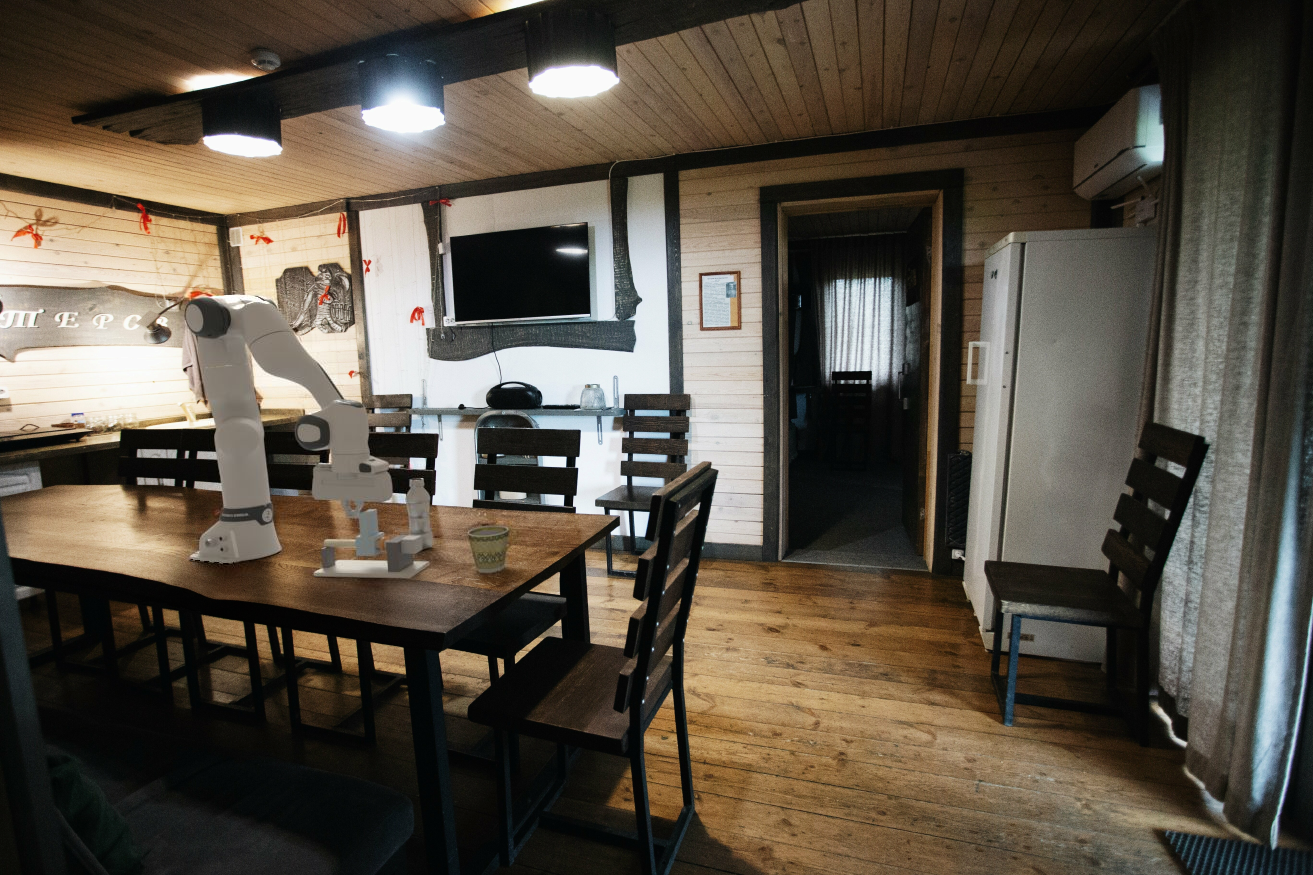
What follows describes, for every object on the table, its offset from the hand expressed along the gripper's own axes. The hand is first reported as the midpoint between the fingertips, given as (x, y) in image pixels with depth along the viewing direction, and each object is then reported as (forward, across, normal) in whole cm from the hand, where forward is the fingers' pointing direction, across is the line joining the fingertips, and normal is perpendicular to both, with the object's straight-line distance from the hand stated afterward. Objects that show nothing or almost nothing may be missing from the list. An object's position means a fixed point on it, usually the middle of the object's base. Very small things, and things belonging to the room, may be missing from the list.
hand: (353, 517), depth 164 cm
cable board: (+13, +6, -1) cm, 15 cm away
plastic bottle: (+13, +9, +18) cm, 24 cm away
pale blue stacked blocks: (+9, +5, -1) cm, 10 cm away
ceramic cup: (+12, +37, +3) cm, 39 cm away
